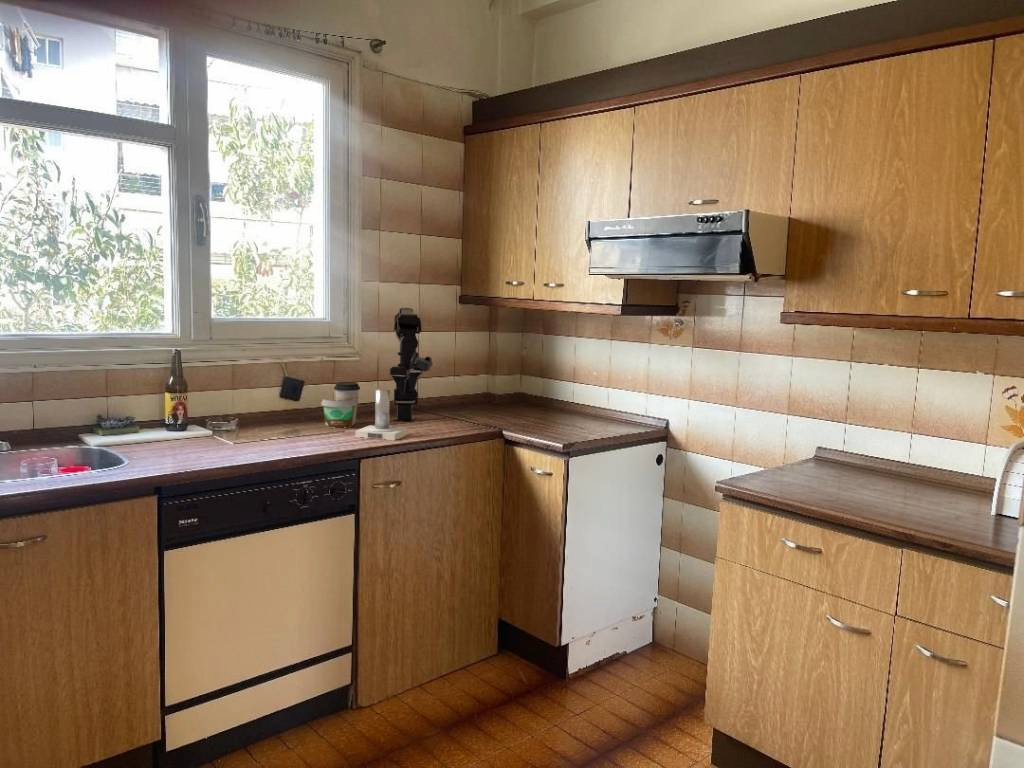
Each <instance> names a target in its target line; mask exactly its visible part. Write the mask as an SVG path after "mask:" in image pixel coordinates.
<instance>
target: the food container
mask: <svg viewBox="0 0 1024 768" xmlns="http://www.w3.org/2000/svg"><path fill="white" fill-rule="evenodd" d="M355 405H356V400H355V399H354V400H349V401H342V400H336V399H335V400H328V399H324V398H322V401H321V406H322V407H323V415H324V425H326V426H329V427H335V428H344V427H350V426H352V427H353V425H352V423H353V414H354V406H355ZM326 426H325V427H326ZM350 428H351V427H350ZM344 429H345V428H344Z"/></svg>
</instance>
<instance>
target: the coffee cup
mask: <svg viewBox="0 0 1024 768" xmlns="http://www.w3.org/2000/svg"><path fill="white" fill-rule="evenodd" d="M333 390H335V391H334V393H335V396H334V398H335V401H336V400H342V401H349V400H354V399H355V400H356V405H355V406H354V414H353V423H352V424H354V425H356V419H357V418H356V417H357V411H358V404H359V390H361V386H360V385H359V383H358V382H353V381H341V382H336V383H335V386H334V387H333Z"/></svg>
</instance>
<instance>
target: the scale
mask: <svg viewBox="0 0 1024 768" xmlns="http://www.w3.org/2000/svg"><path fill="white" fill-rule="evenodd" d="M407 435H408V427H397V426H395V425H389V428H388V429H376V428H375V425H367V426H365V427H362V428H359V429H356V430H355V438H360V437H364V438H363V439H372V438H374V440H384V439H386V440H385V441H396V439H397V440H398V439H401V438H403V437H405V436H407Z"/></svg>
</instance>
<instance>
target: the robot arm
mask: <svg viewBox="0 0 1024 768" xmlns="http://www.w3.org/2000/svg"><path fill="white" fill-rule="evenodd" d="M393 331H395V337H396V338H397V340H398V342H399V352H397V355H398V356H399V363H397V365H394V366H392V367H390V368H389V375H390V376H391V378H392V379H393V381H394V382H395V384H396V385H395V388H394V389H393V405H394V406H396V418H393V421H397V422H412V421H414V420H416V418H415V417H413V406H416V405H418V404H419V403H418V402H419V401H418V399H419V392H418V390H417V389H416V385H417V383H418V379H419V377H420V376H421V375H423V373H424V372H426V373H427V372H430V370H431V367H433V365H434V364H433V360H432V357H430V356H425V358H424V357H421V356H420V354H419V353H420V352H418V351H417V348H418V346H419V341H418V338H417V336H416V335H417V334H418V335H420V334H421V332H422V320H421V317H419V316H418V314H417V313H414V310H413V308H411V307H400V308H399V311H398V313H397V314H395V315H394V318H393Z"/></svg>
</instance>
